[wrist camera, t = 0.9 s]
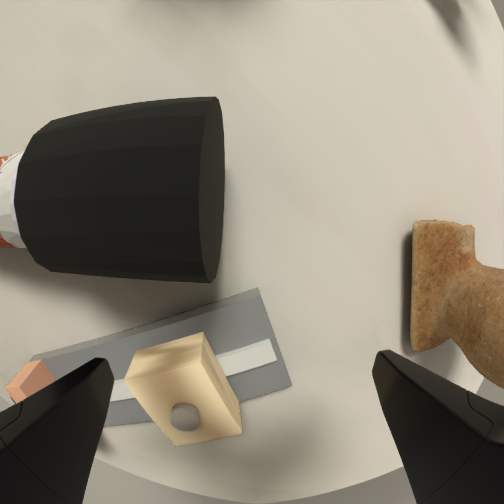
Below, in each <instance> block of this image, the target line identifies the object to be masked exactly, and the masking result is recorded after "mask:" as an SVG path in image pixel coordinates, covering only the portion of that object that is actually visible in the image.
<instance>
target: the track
mask: <svg viewBox="0 0 504 504" xmlns="http://www.w3.org/2000/svg"><path fill="white" fill-rule="evenodd" d="M200 332H204V334H205V336H206V339H207V341H208V343H209V345H210V347H211V349H212V351H213V353H214V355H215V357H216V359H217V361H218V363H219V365H220V367H221V369H222V371H223V372H224V374H225V376H226V378H227V380H228V382H229V384H230V386H231V388H232V390H233V391H234V393H235V395H236V397H237V399H238V401H239V402H241V401H244V400H248V399H251V398H255V397H258V396H261V395H265V394H268V393H271V392H274V391H277V390H280V389H283V388H286V387H289V386H291V385H292V383H291V380H290V377H289V374H288V372H287V369H286V366H285V363H284V360H283V357H282V355H281V352H280V349H279V346H278V343H277V341H276V338H275V335H274V332H273V329H272V326H271V324H270V321H269V318H268V315H267V312H266V309H265V306H264V304H263V301H262V298H261V295H260V292H259V290H258V288H255V289H252V290H249V291H246V292H244V293H241V294H238V295H235V296H232V297H229V298H226V299H223V300H220V301H217V302H214V303H211V304H208V305H205V306H202V307H199V308H196V309H193V310H190V311H187V312H184V313H180V314H177V315H174V316H171V317H168V318H165V319H162V320H158V321H155V322H152V323H149V324H145V325H142V326H139V327H135V328H132V329H129V330H125V331H122V332H119V333H115V334H112V335H108V336H105V337H101V338H98V339H94V340H91V341H87V342H84V343H80V344H76V345H73V346H69V347H65V348H61V349H58V350H54V351H50V352H46V353H42V354H38V355H34V356H33V357H32V358H31V360H30V361H29V362H28V363H26V364H25V365H24V366H23V368H22V369H21V370H20V371H19V372H18V373H17V375H16V376H15V377H14V378H13V379H12V381H11V382H10V383H9V384H8V386H7V387H6V388H5V389H6V391H7V392H8V393H9V395H10V396H11V397H12V399H13V400H14V401H15V403H16V404H17V403H18V402H20V401H22V400H24V399H25V398H27V397H29V396H30V395H32V394H34V393H36V392H37V391H39V390H41V389H42V388H44V387H46V386H48V385H49V384H51V383H53V382H54V381H56V380H58V379H60V378H61V377H63V376H65V375H66V374H68V373H70V372H71V371H73V370H75V369H77V368H78V367H80V366H82V365H83V364H85V363H87V362H88V361H90V360H92V359H93V358H95V357H100V358H105V359H107V360H108V362H109V365H110V367H111V370H112V373H113V375H114V386H113V390H112V394H111V399H110V404H109V408H108V413H107V417H106V420H105V424H104V426H112V425H122V424H131V423H139V422H146V421H153V420H152V418H151V417H150V416H149V415H148V413H147V412H146V411H145V410H144V408H143V407H142V406H141V404H140V403H139V402H138V400H137V399H136V398H135V396H134V395H133V394H132V392H131V391H130V389H129V388H128V387H127V385H126V384H125V382H124V378H125V376H126V374H127V371H128V369H129V366H130V364H131V362H132V359H133V357H134V355H135V353H136V351H137V350H141V349H145V348H149V347H152V346H156V345H159V344H163V343H166V342H170V341H173V340H177V339H180V338H184V337H187V336H190V335H194V334H197V333H200Z"/></svg>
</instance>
